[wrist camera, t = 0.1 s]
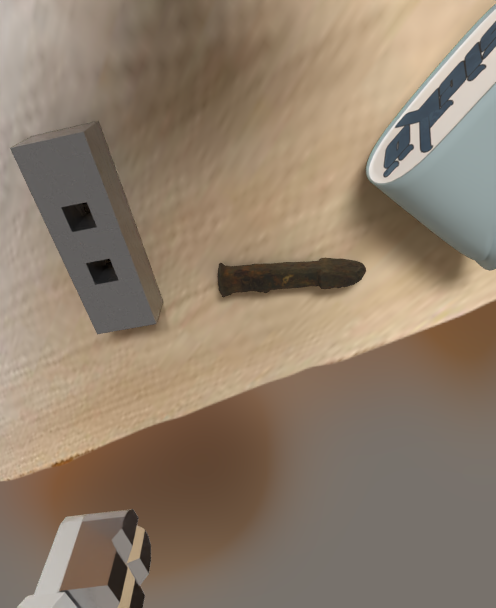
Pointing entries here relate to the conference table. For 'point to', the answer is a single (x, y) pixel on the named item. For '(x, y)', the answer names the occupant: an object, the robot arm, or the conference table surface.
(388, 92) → the conference table surface
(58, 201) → the grey slotted block
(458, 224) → the grey rounded wedge
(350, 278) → the hand tool
